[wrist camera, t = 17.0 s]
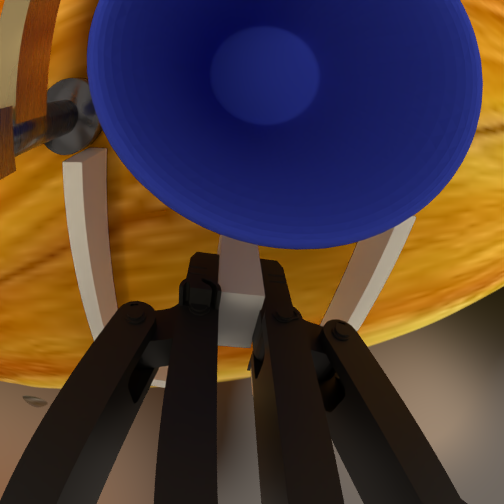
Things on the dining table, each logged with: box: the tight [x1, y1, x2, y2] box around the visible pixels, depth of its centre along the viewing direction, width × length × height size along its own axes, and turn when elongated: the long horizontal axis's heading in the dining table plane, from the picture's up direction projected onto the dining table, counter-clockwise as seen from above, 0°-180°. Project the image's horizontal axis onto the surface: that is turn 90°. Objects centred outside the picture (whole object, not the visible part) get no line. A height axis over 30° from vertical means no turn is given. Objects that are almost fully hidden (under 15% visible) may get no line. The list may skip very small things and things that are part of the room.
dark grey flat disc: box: [44, 78, 102, 155], centre depth 11 cm, size 4×4×1 cm
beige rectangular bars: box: [63, 148, 416, 393], centre depth 17 cm, size 18×21×4 cm
